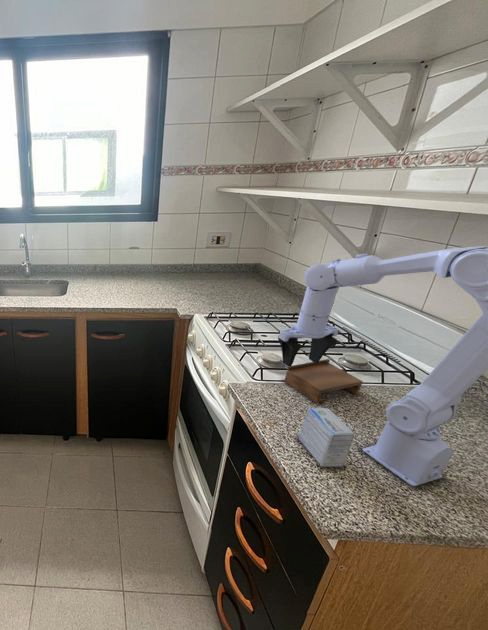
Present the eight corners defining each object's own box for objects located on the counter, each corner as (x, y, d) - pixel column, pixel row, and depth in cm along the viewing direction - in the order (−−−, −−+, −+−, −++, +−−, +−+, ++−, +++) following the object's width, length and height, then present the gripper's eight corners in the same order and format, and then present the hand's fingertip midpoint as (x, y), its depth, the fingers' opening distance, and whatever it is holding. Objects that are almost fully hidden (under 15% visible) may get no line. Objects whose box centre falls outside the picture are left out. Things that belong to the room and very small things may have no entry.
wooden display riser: (358, 394, 91) (364, 378, 89) (316, 403, 88) (321, 387, 86) (323, 373, 100) (328, 358, 98) (284, 381, 96) (288, 366, 94)
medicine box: (342, 467, 69) (357, 434, 66) (320, 467, 69) (333, 434, 66) (317, 439, 76) (329, 407, 73) (297, 438, 76) (307, 407, 73)
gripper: (326, 304, 86) (312, 352, 91) (275, 309, 84) (263, 357, 89) (352, 315, 80) (335, 365, 85) (298, 321, 77) (283, 372, 83)
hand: (300, 362), depth 87 cm, fingers open, 7 cm apart
